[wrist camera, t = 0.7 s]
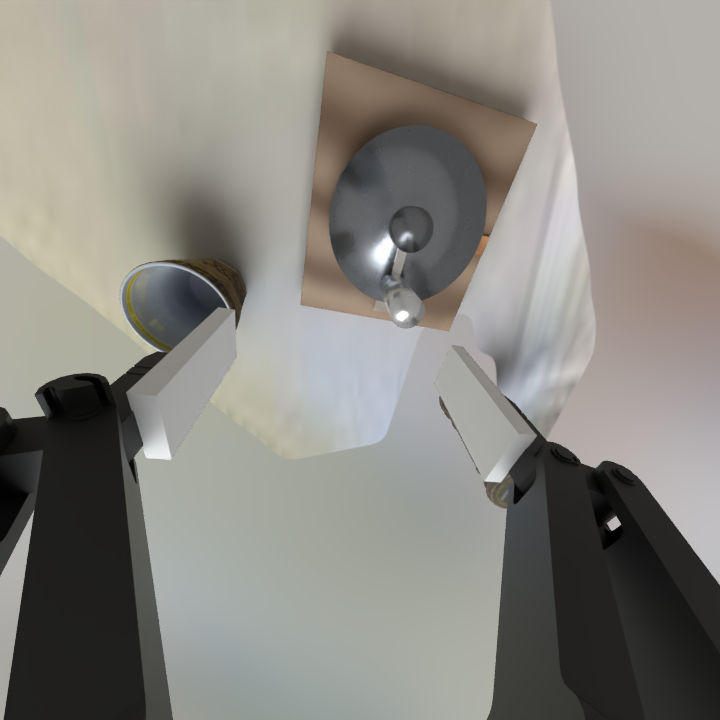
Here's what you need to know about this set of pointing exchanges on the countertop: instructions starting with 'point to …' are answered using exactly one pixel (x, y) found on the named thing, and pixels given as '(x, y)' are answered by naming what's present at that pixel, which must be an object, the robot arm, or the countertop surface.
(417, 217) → the dial
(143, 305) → the ceramic cup
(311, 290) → the stand
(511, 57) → the countertop surface
